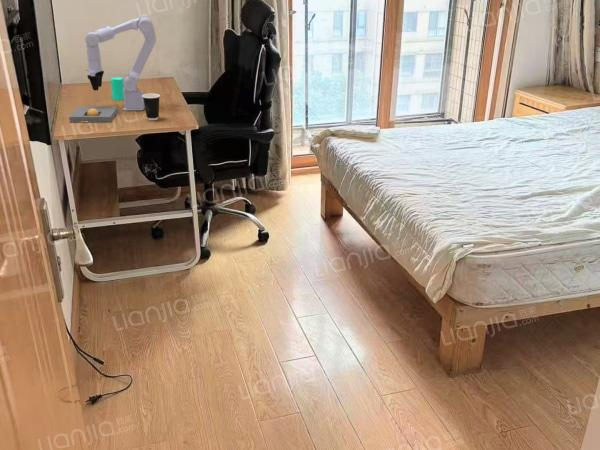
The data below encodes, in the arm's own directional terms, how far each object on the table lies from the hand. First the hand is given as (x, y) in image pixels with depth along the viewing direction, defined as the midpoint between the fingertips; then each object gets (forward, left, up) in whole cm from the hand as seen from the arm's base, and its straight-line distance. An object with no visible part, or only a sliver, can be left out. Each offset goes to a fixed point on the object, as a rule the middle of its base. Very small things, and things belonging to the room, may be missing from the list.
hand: (97, 88), depth 289 cm
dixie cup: (-27, +16, -11) cm, 33 cm away
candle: (-5, -22, -11) cm, 25 cm away
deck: (0, +13, -10) cm, 16 cm away
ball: (-1, +17, -8) cm, 18 cm away
